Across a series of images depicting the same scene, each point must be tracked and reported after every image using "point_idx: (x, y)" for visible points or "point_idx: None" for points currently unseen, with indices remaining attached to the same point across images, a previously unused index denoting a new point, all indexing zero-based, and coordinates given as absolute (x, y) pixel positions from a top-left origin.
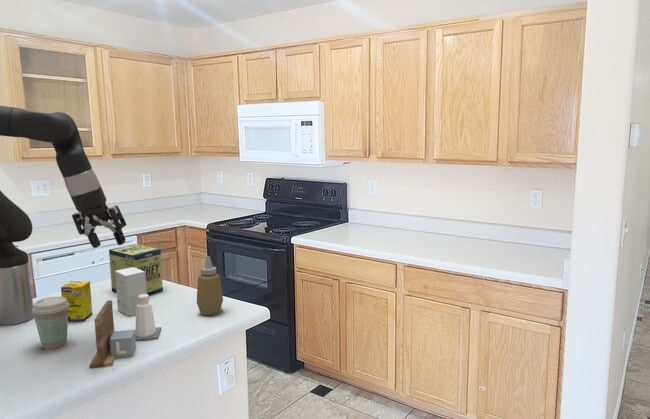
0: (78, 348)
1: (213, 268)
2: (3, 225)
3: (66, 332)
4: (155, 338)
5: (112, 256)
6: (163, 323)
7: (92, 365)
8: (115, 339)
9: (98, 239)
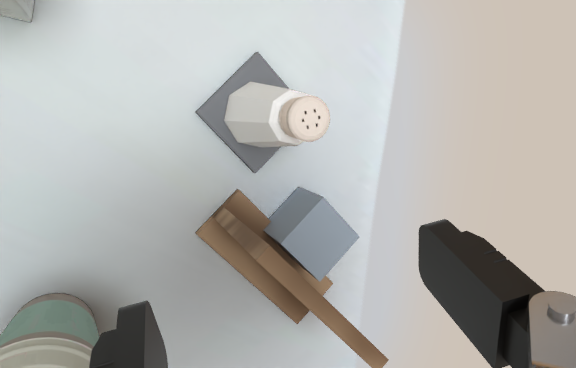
0: (156, 291)
1: None
2: None
3: (86, 315)
4: None
5: None
6: (221, 9)
7: (301, 317)
8: (329, 269)
9: (147, 342)
